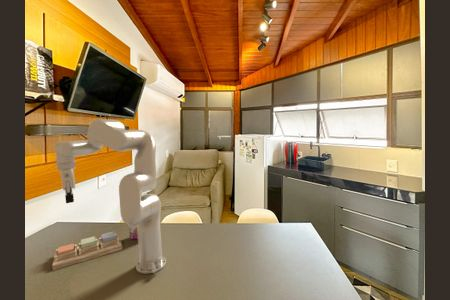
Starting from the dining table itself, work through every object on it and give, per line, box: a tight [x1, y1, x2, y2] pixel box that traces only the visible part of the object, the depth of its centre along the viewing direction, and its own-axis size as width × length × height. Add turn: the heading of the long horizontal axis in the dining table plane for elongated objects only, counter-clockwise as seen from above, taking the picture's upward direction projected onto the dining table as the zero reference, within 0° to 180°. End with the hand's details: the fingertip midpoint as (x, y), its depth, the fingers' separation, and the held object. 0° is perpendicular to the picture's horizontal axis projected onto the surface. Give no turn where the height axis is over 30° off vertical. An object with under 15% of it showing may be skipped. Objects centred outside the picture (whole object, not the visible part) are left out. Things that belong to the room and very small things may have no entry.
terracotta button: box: [57, 243, 75, 255], centre depth 105 cm, size 6×6×3 cm
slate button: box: [101, 230, 116, 243], centre depth 115 cm, size 6×6×3 cm
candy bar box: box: [128, 224, 138, 240], centre depth 123 cm, size 11×5×16 cm, turn 84°
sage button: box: [80, 235, 96, 249], centre depth 110 cm, size 6×6×3 cm
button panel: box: [52, 233, 123, 271], centre depth 110 cm, size 14×28×4 cm, turn 124°
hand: (70, 202), depth 111 cm, fingers closed
